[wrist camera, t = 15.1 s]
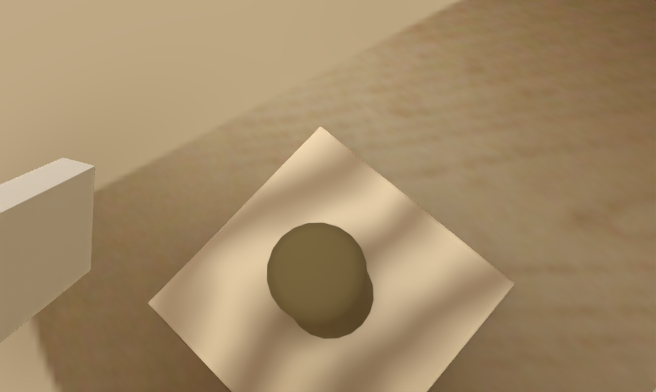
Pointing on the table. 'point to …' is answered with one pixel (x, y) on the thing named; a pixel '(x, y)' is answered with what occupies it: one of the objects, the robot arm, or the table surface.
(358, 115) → the table surface
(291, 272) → the olive pawn
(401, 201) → the birch board
